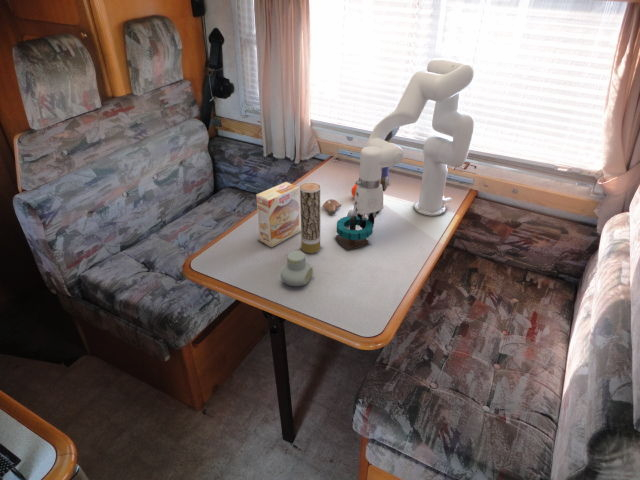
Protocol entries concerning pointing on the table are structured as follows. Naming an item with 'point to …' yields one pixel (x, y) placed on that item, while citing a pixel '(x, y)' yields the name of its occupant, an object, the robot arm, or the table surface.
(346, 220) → the ring
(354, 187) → the clementine
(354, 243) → the peg stand
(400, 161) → the robot arm
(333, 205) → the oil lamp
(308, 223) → the patterned cylinder
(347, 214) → the pacifier
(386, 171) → the rubber mallet
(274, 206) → the coffeecake box
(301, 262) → the air freshener
